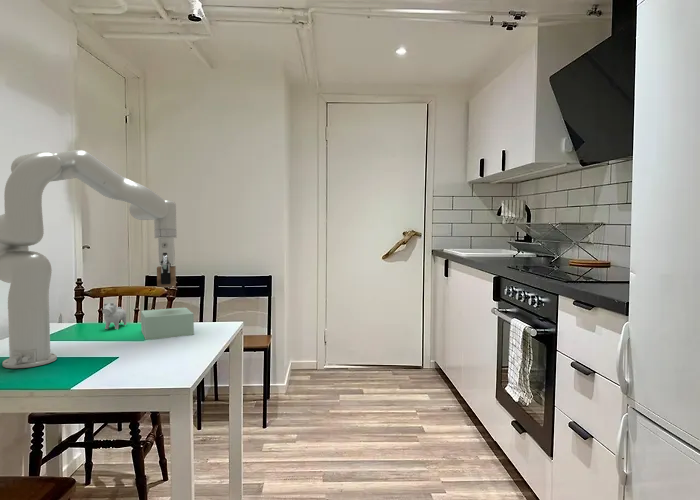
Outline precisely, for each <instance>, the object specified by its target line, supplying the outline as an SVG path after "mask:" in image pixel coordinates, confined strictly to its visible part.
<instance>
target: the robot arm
mask: <svg viewBox="0 0 700 500" xmlns="http://www.w3.org/2000/svg"><path fill="white" fill-rule="evenodd" d="M10 172H11V173H10V175H9V176H8V178H7V181H6V183H5V185H4V186H5V187H4V194H3V195H4V196H3V198H4V213H3V214H1V215H0V281H2V282H3V283H7V284H10V286H9V289H8V294H7V296H8V297H7V314H8V315H7V316H8V321H7V322H8V348H9V349H8V352H9V353H8V354H9V358H6V359H4V360H2V367H3V368H6V369H25V368H27V369H28V368H34V367H40V366H43V365H48V364H50V363H53V362H55V361H56V360H57V359H58V357H57V356H58V355H57V354H56V353H52V352H51V332H50V331H51V329H50V328H51V325H50V284H51V278H52V271H53V270H52V265H51V262H50V260H49V259H48V258H47V257H46V256H45V255H44V254H42V253H40V252H37V251H31V250H29V249H30V248H29V247H31V246H34V245H37V244H38V243H40V242H41V241H42V240H43V239H44V238H43V237H44V234H45V233H44V230H45V229H44V219H43V217H44V216H43V203H42V202H43V201H42V200H43V198H42V197H43V192H44V190H45V189H46V187H47V185H48V184H49V183H51V182H59V181H64V180H65V181H66V180H70V179H77V180H79V181H80V182H83V183H84V184H85V185H87V186H88V187H90V188H91V189H93V190H95V191H96V192H98V193H99V194H100V195H101V196H103V197H107V198H109V199H112V200H116V201H121V202H126V203H129V204H130V205H129V207H128V212H129V213H130V215H131V216H132V217H133V218H134V219H136V220H138V221H151V220H152V221H153V222H154V223H153V225H154V227H153V228H154V239H157V246H158V247H157V249H158V251H157V252H158V263H159V266H161V284H171V273H170V266H175V263H176V262H175V259H176V258H175V239H177V238H178V237H177V235H178V234H177V204H176V202H175V201H173V200H168V199H166V200H165V199H164V198H163V197H161V195H159V194H158V193H156V192H155V191H153V190H152V189H150V188H149V187H147V186H145V185H143V184H141V183H138V182H136V181H133V180H131V179H130V178H127V177H125V176H123V175H121V174H120V173H118V172H116V171H115V170H114V169H113V168H111V167H109V166H108V165H106V164H105V163H104V162H102V161H101V160H100V159H98V158H97V157H96V156H94V155H93V154H91V153H90V152H88V151H86V150H84V149H74V150H73V149H72V150H69V151H62V152H56V153H53V152H48V151H38V152H32V153H27V154H23V155H20V156H18V157H16V158H15V159H14V160H13V161H12V162H11V165H10Z"/></svg>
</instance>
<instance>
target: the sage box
mask: <svg viewBox="0 0 700 500" xmlns="http://www.w3.org/2000/svg"><path fill="white" fill-rule="evenodd" d="M194 320H195V319H194V312H192V311H191V310H190V309H188V308H187V307H174V308H162V309H161V308H160V309H159V308H157V309H150V310H147V309H145V310H140V321H141V322H140V323H141V325H140V326H141V333H142V335H143V337H144V339H145V340H147V341H148V340H156V339H165V338H174V337H175V338H177V337H185V336H193V335H195V328H194V327H195V326H194V325H195V322H194Z"/></svg>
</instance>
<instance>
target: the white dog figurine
mask: <svg viewBox="0 0 700 500" xmlns="http://www.w3.org/2000/svg"><path fill="white" fill-rule="evenodd" d="M101 311H102V314H104V316H103V319H104V321H105V328H104V330H105V329H108V330H110V329H109V328H110V326H111V323H113V326H114V325H115V326H114V330H115V329H117V330H119V327H120V321H122V323H123V326H124V325H127V315H128V314H127V311H126V310H125V309H123V308H122V307H121V306H118V307H117V304H115V302H114V301H113V302H112V301H111V302H109V303H108V302H104V303H103V307H102V310H101Z"/></svg>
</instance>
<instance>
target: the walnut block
mask: <svg viewBox="0 0 700 500" xmlns="http://www.w3.org/2000/svg"><path fill="white" fill-rule="evenodd" d="M176 269H177V267H176V265H171V266H170V273H171V284H161V265H159V266H157V267H156V287H157V288H166V287H168V288H169V287H176V285H177V277H176V276H177V275H176V273H177V272H176Z"/></svg>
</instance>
